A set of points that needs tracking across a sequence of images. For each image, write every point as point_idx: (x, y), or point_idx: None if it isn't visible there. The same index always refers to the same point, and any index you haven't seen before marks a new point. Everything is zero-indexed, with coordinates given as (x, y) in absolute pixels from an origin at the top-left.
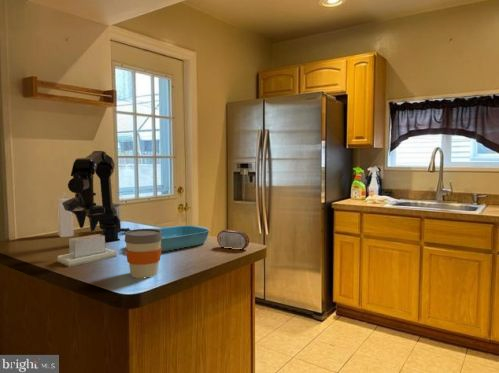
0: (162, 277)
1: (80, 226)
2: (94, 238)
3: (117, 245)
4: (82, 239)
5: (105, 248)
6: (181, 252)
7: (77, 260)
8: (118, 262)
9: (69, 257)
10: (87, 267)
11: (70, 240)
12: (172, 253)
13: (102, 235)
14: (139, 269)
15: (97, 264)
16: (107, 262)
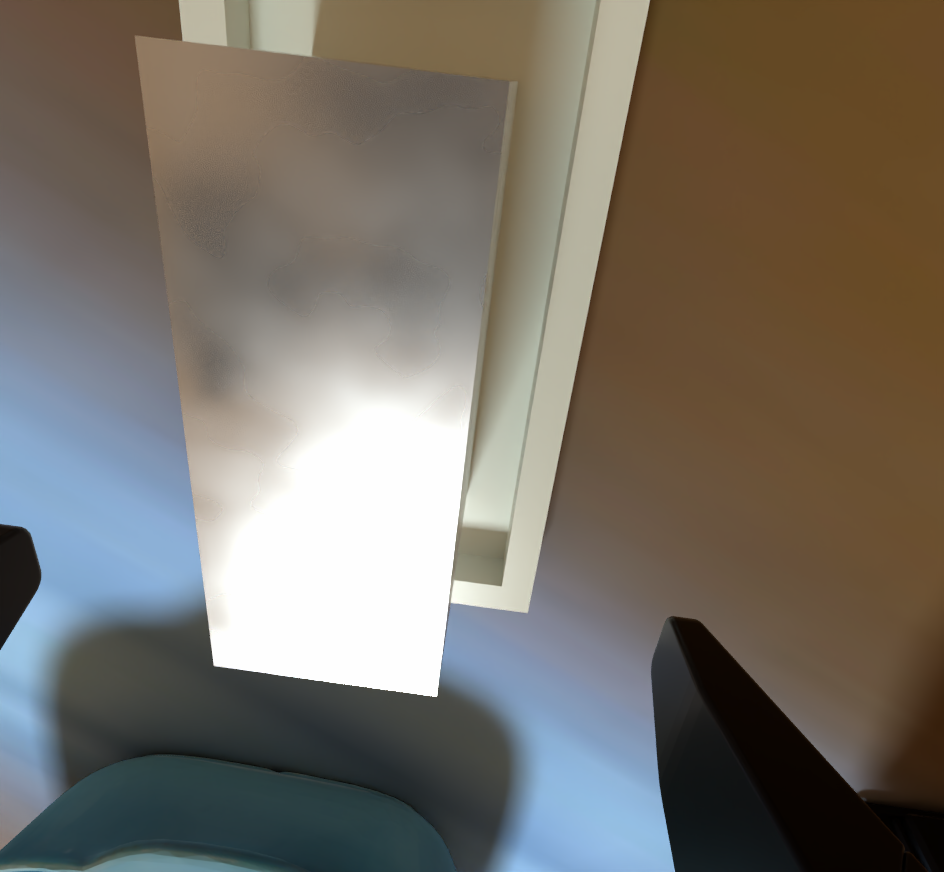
0: None
1: (672, 645)
2: (201, 495)
3: (653, 770)
4: (169, 258)
5: (457, 589)
6: (22, 825)
7: (191, 20)
8: (18, 413)
9: (576, 113)
10: (12, 47)
11: (430, 71)
12: (34, 789)
13: (271, 664)
14: None
15: (79, 224)
16: (93, 347)
